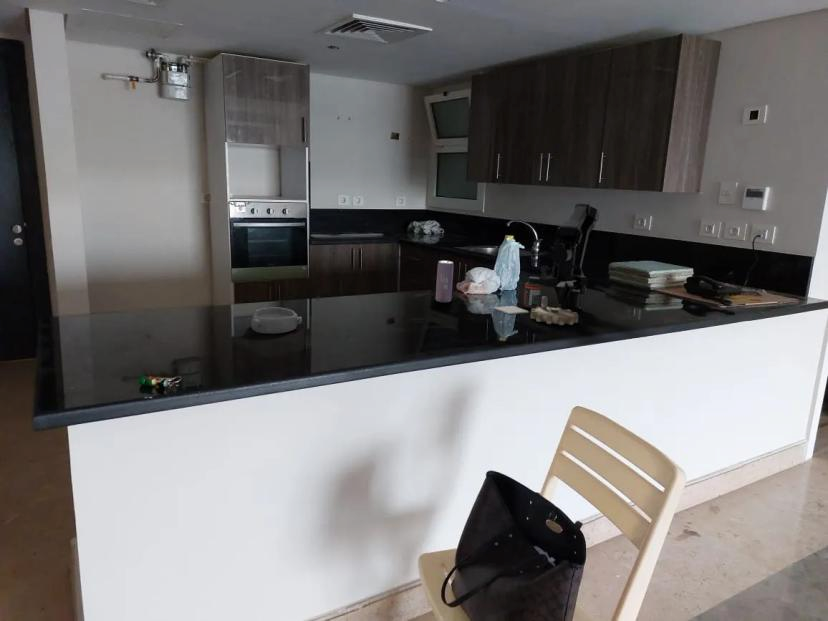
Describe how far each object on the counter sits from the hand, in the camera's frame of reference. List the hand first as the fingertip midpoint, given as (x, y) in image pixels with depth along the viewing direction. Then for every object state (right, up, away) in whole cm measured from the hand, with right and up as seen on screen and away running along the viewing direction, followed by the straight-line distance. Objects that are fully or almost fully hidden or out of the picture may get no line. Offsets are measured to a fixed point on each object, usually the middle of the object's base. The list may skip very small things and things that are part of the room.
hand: (560, 304), depth 204 cm
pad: (-17, -2, +4) cm, 18 cm away
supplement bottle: (-8, -1, +13) cm, 15 cm away
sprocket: (-4, -5, -6) cm, 9 cm away
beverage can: (-41, +1, +14) cm, 44 cm away
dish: (-93, -8, -35) cm, 100 cm away
